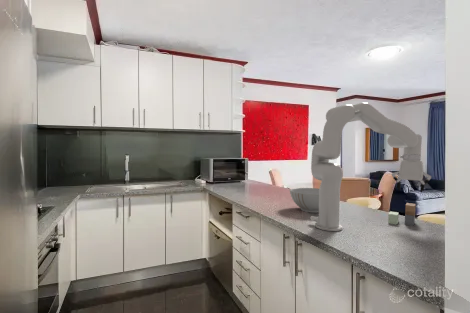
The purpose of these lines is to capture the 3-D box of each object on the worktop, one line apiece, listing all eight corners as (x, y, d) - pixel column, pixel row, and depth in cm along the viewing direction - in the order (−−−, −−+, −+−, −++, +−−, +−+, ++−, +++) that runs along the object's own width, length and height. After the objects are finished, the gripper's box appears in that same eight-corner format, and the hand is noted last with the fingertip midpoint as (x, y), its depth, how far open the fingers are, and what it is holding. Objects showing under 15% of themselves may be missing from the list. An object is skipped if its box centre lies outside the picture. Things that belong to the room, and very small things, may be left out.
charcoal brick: (413, 225, 134) (414, 216, 134) (404, 224, 136) (404, 214, 136) (414, 222, 140) (415, 213, 139) (405, 221, 142) (406, 212, 142)
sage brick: (397, 224, 135) (397, 215, 135) (388, 223, 138) (388, 213, 138) (398, 221, 141) (398, 212, 141) (389, 220, 143) (390, 211, 143)
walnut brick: (414, 215, 134) (414, 206, 134) (405, 214, 136) (405, 205, 136) (415, 213, 140) (415, 203, 139) (406, 212, 142) (406, 202, 142)
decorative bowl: (287, 213, 155) (287, 192, 155) (291, 204, 181) (291, 186, 181) (335, 217, 147) (336, 196, 147) (332, 207, 173) (333, 189, 173)
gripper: (391, 157, 139) (389, 189, 139) (432, 158, 128) (430, 193, 129) (393, 157, 145) (391, 188, 145) (432, 158, 134) (430, 192, 135)
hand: (410, 190), depth 137 cm, fingers open, 9 cm apart
